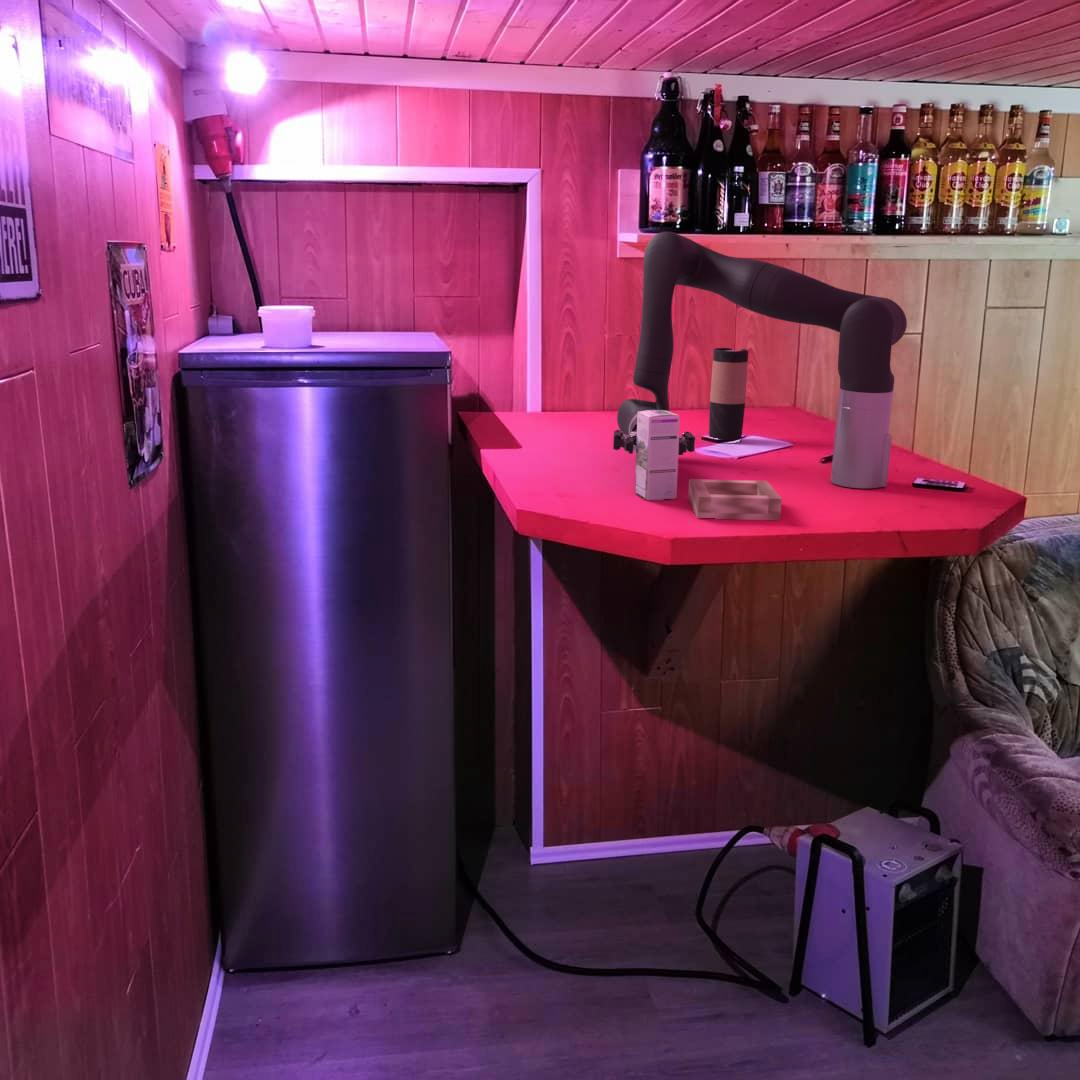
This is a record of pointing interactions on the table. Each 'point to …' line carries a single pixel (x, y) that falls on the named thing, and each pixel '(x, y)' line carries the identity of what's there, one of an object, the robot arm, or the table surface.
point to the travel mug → (728, 393)
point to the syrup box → (657, 454)
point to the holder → (734, 499)
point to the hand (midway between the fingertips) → (656, 448)
